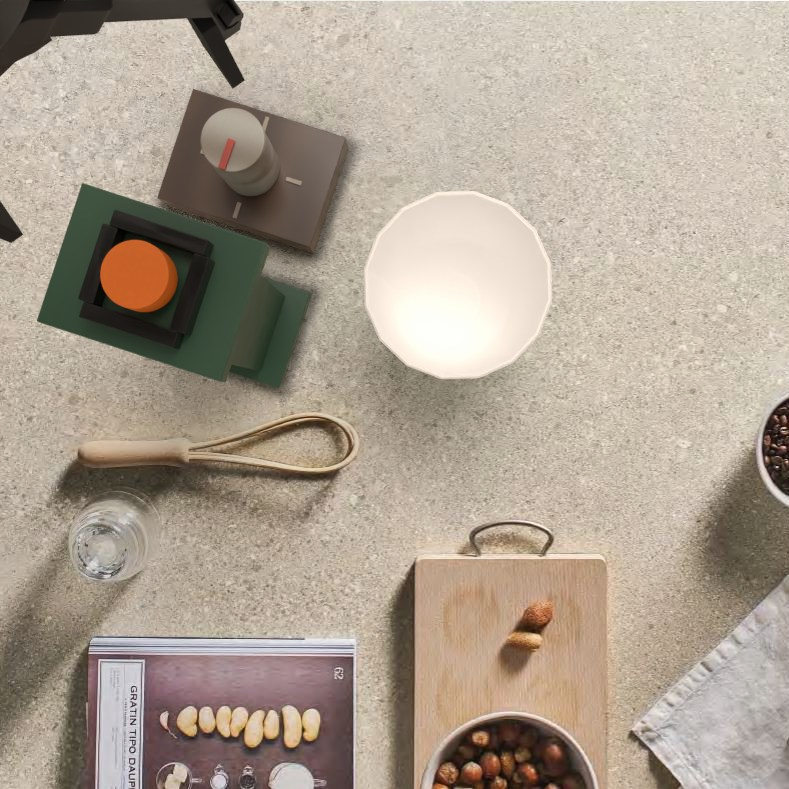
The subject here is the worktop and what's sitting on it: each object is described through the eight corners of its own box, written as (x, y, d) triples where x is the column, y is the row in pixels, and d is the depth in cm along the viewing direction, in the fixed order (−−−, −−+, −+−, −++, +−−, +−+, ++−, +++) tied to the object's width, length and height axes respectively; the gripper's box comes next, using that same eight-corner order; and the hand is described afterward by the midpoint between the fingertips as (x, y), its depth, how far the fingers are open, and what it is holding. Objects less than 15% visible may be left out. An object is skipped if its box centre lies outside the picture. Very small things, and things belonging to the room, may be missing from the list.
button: (102, 300, 53) (90, 296, 51) (123, 237, 53) (112, 230, 51) (165, 321, 53) (156, 317, 51) (186, 257, 53) (177, 251, 51)
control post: (154, 347, 79) (25, 318, 53) (185, 252, 79) (72, 176, 53) (280, 389, 79) (215, 381, 52) (312, 293, 79) (262, 237, 52)
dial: (233, 131, 76) (211, 97, 68) (287, 149, 76) (272, 118, 68) (214, 185, 76) (190, 158, 68) (268, 204, 76) (251, 179, 68)
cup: (511, 397, 78) (536, 395, 63) (359, 371, 79) (347, 363, 63) (536, 245, 78) (568, 205, 63) (385, 220, 79) (379, 174, 63)
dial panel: (166, 205, 79) (156, 197, 76) (201, 100, 79) (192, 87, 76) (313, 253, 79) (309, 247, 76) (348, 147, 79) (345, 137, 76)
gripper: (-471, 284, 23) (-49, 342, 44) (310, -262, 23) (358, 59, 44) (-627, 51, 23) (-131, 220, 44) (148, -494, 23) (274, -63, 44)
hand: (113, 140), depth 44 cm, fingers open, 13 cm apart
